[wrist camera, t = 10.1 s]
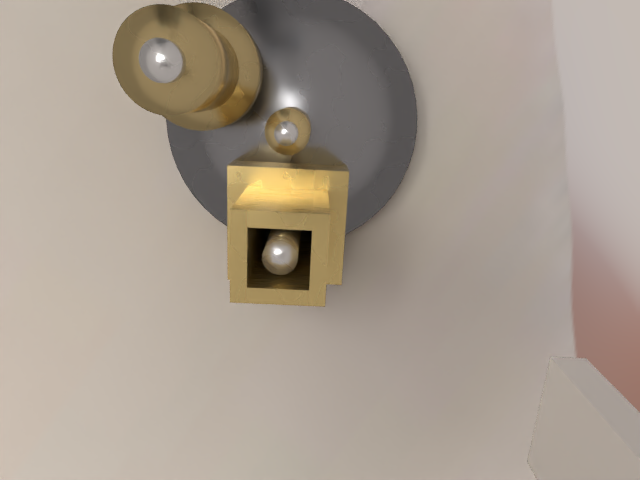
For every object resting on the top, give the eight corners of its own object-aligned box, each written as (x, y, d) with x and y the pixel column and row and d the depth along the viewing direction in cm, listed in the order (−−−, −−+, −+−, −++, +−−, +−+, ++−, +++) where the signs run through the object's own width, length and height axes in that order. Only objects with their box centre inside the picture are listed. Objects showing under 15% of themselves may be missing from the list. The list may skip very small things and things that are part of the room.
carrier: (157, -14, 24) (68, -75, 16) (424, 1, 25) (483, -50, 16) (167, 232, 28) (100, 293, 19) (399, 243, 28) (435, 309, 20)
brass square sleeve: (233, 160, 25) (204, 183, 19) (346, 165, 26) (357, 191, 19) (234, 266, 27) (206, 322, 20) (339, 271, 27) (346, 329, 21)
